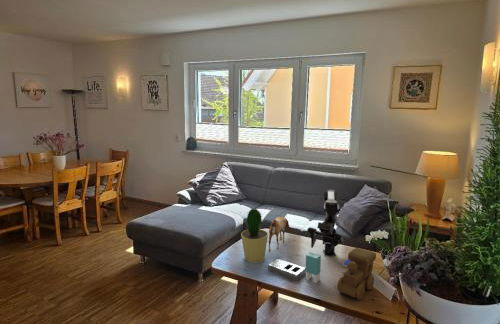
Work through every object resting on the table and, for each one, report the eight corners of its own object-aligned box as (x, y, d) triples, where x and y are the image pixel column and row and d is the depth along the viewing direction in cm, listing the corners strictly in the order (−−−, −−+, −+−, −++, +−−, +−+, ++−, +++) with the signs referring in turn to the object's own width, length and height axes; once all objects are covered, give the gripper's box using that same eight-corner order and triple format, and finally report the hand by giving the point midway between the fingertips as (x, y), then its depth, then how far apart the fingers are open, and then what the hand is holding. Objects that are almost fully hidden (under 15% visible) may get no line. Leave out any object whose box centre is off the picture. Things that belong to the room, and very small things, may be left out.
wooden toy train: (354, 277, 160) (355, 246, 157) (376, 285, 152) (378, 253, 149) (334, 294, 145) (335, 260, 142) (358, 304, 137) (360, 268, 135)
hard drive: (350, 255, 181) (342, 263, 171) (365, 259, 176) (357, 268, 166) (350, 258, 181) (342, 266, 172) (365, 262, 176) (357, 271, 167)
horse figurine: (274, 256, 183) (274, 222, 180) (262, 253, 187) (262, 220, 183) (293, 237, 210) (293, 207, 207) (282, 235, 214) (282, 206, 211)
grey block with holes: (277, 263, 175) (277, 258, 174) (305, 273, 164) (305, 267, 164) (268, 270, 168) (268, 264, 167) (297, 280, 157) (297, 275, 157)
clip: (309, 276, 161) (309, 252, 159) (320, 279, 158) (320, 255, 156) (305, 279, 158) (306, 255, 156) (316, 283, 155) (317, 258, 152)
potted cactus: (257, 267, 171) (257, 214, 166) (236, 259, 180) (234, 209, 175) (273, 256, 183) (273, 207, 178) (252, 249, 192) (251, 202, 187)
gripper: (308, 212, 169) (298, 238, 162) (342, 219, 157) (332, 247, 150) (315, 222, 176) (305, 247, 169) (347, 229, 165) (338, 257, 158)
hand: (319, 249), depth 161 cm, fingers open, 9 cm apart
